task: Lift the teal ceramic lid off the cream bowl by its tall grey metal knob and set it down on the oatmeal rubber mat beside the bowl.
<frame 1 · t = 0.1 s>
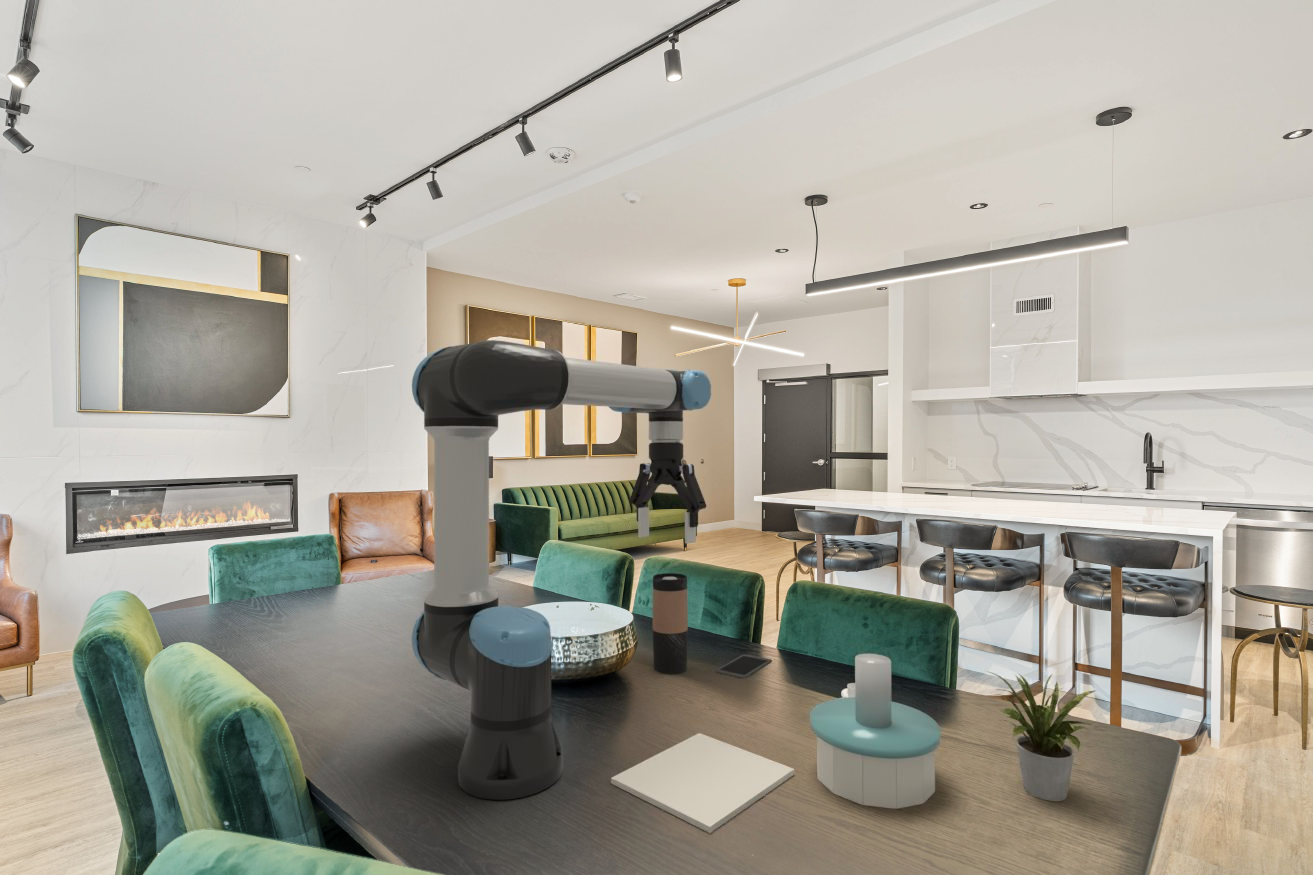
hand: (666, 539, 143), 28 cm above the table, tool pointing down, fingers open, 13 cm apart
house plant: (1033, 790, 93), on the table
lid: (873, 729, 96), point 7 cm above the table, touching bowl
bowl: (873, 777, 96), on the table
cell phone: (744, 669, 145), on the table
travel mug: (670, 669, 143), on the table
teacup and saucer: (868, 706, 124), on the table
mat: (703, 778, 96), on the table
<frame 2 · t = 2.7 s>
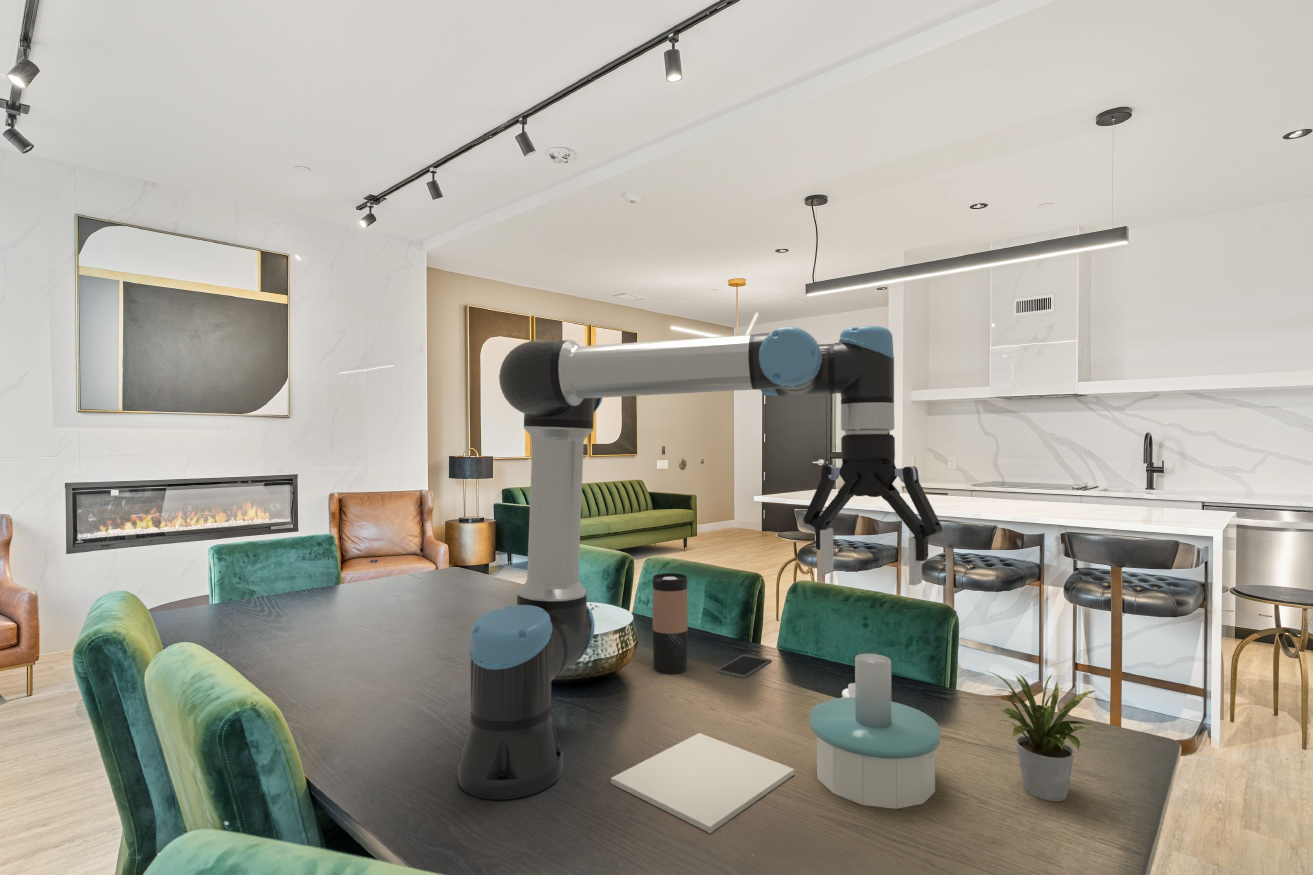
hand: (869, 577, 97), 29 cm above the table, tool pointing down, fingers open, 13 cm apart
nothing on the table moved.
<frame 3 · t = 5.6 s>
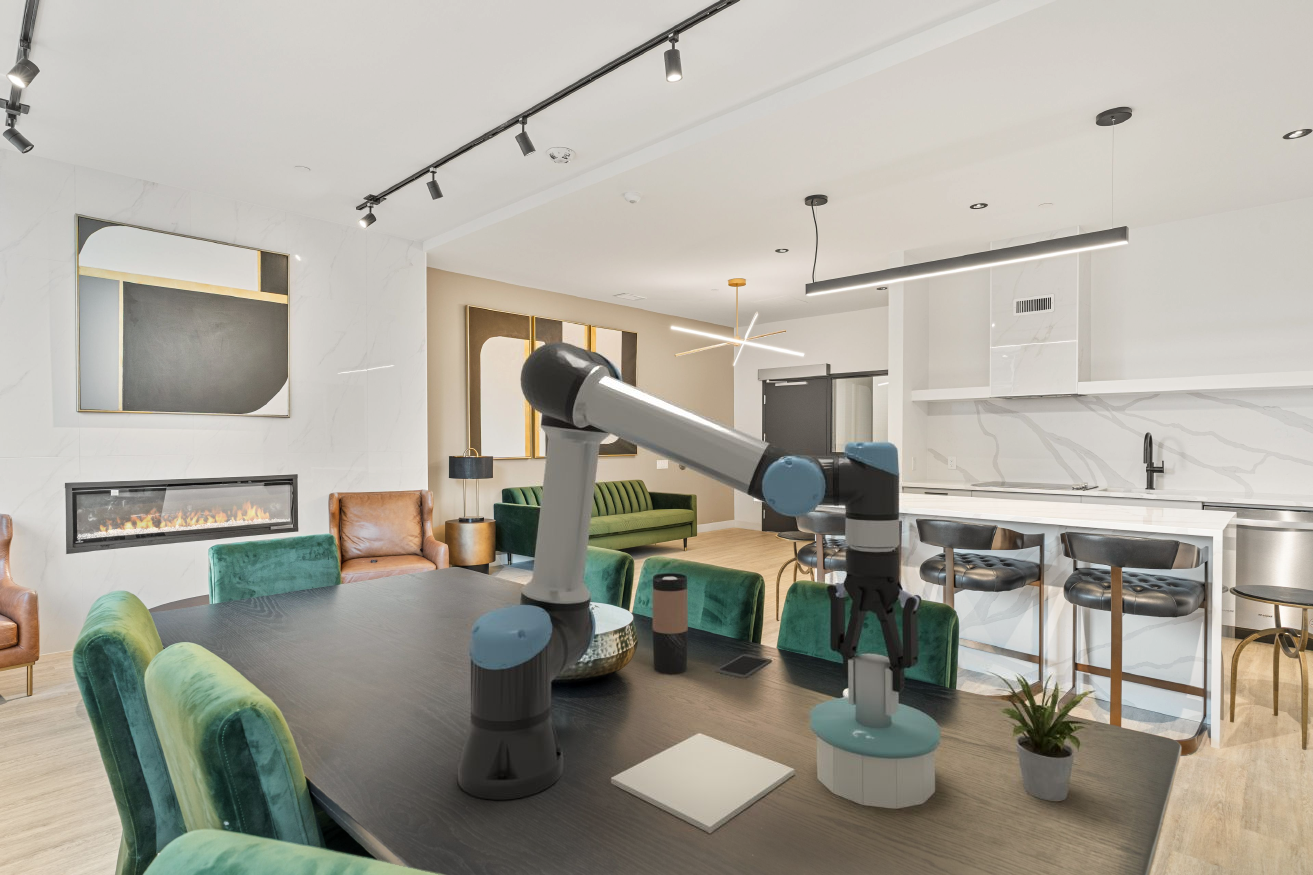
hand: (873, 706, 96), 10 cm above the table, tool pointing down, fingers closed on lid, 5 cm apart
lid: (873, 729, 96), point 7 cm above the table, touching bowl, gripper
everything else where it was.
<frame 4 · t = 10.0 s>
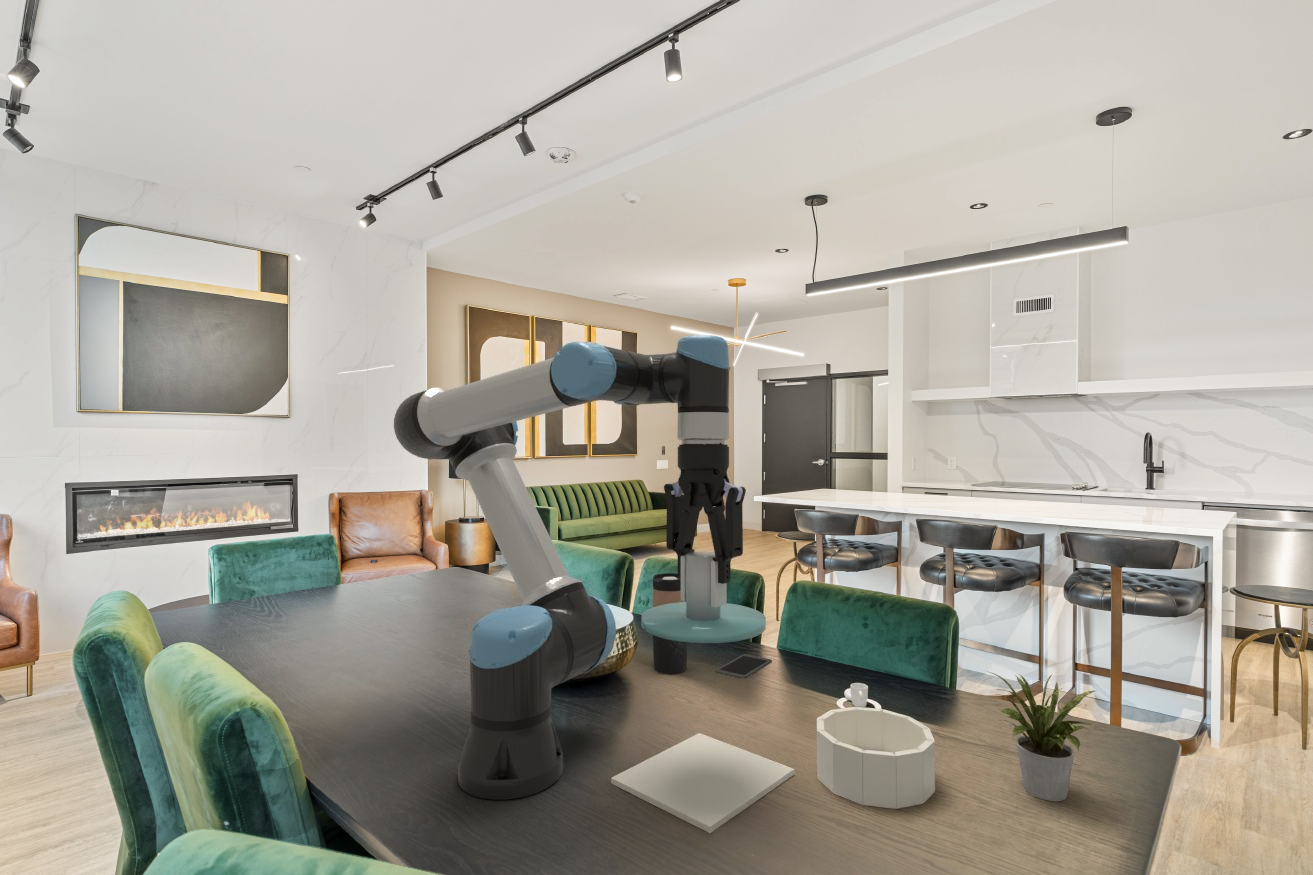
hand: (703, 601, 96), 26 cm above the table, tool pointing down, fingers closed on lid, 5 cm apart
lid: (703, 624, 96), point 22 cm above the table, touching gripper
everything else where it was.
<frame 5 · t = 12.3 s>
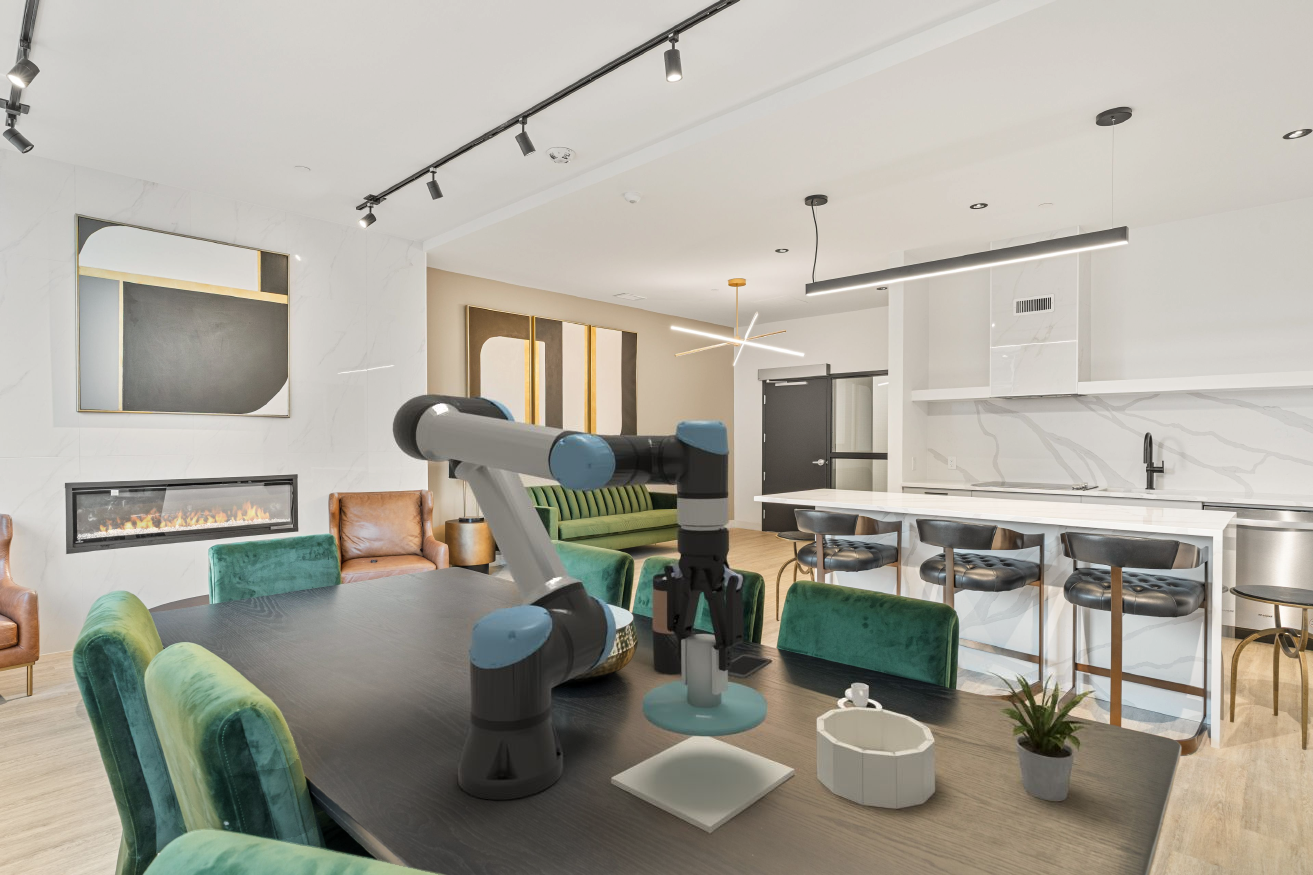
hand: (704, 686, 96), 13 cm above the table, tool pointing down, fingers closed on lid, 5 cm apart
lid: (704, 709, 96), point 10 cm above the table, touching gripper
everything else where it was.
when the fingers open (5 cm above the table, at t = 14.6 s): lid drops 1 cm, resting on mat.
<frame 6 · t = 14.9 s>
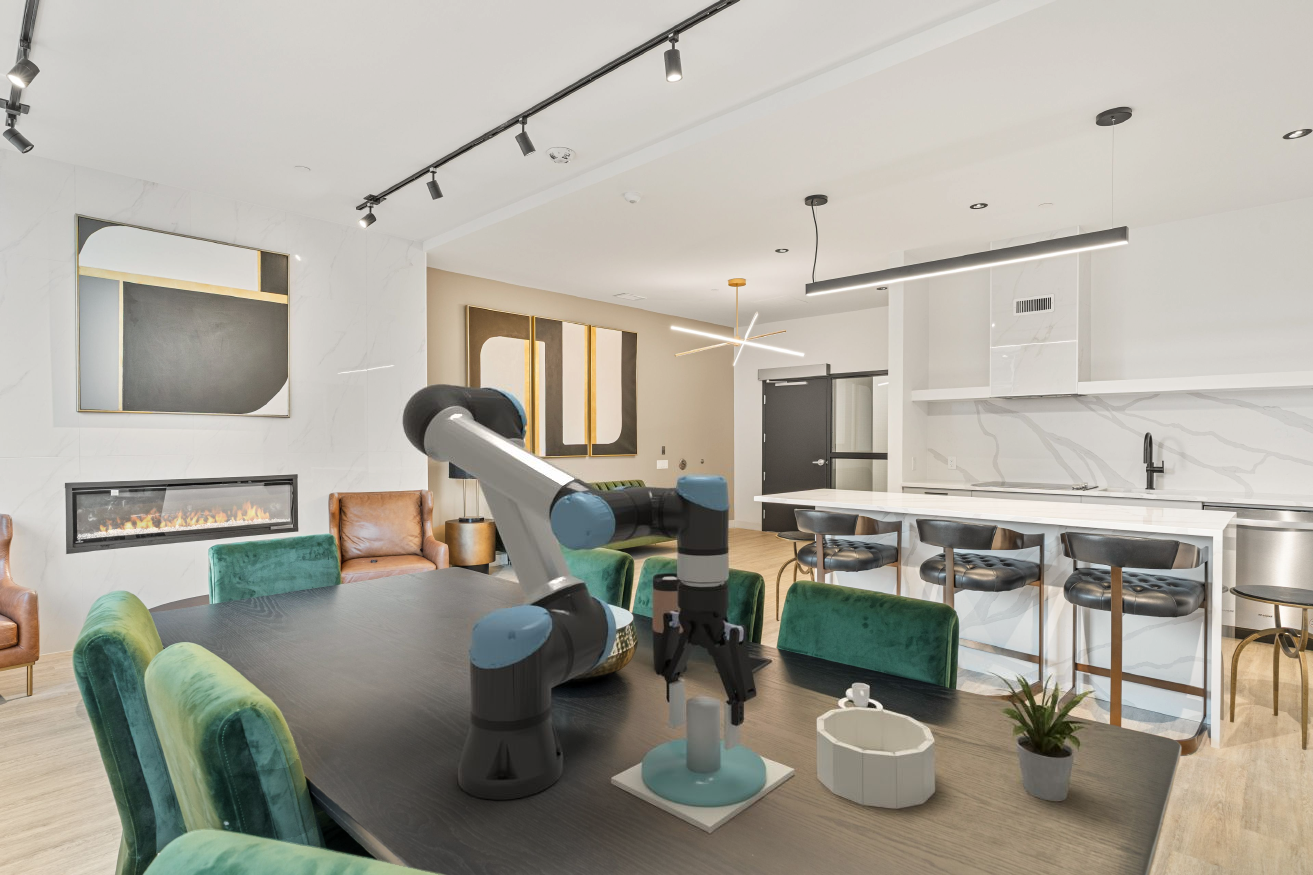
hand: (703, 735, 96), 6 cm above the table, tool pointing down, fingers open, 9 cm apart
lid: (703, 773, 96), point 1 cm above the table, touching mat
everything else where it was.
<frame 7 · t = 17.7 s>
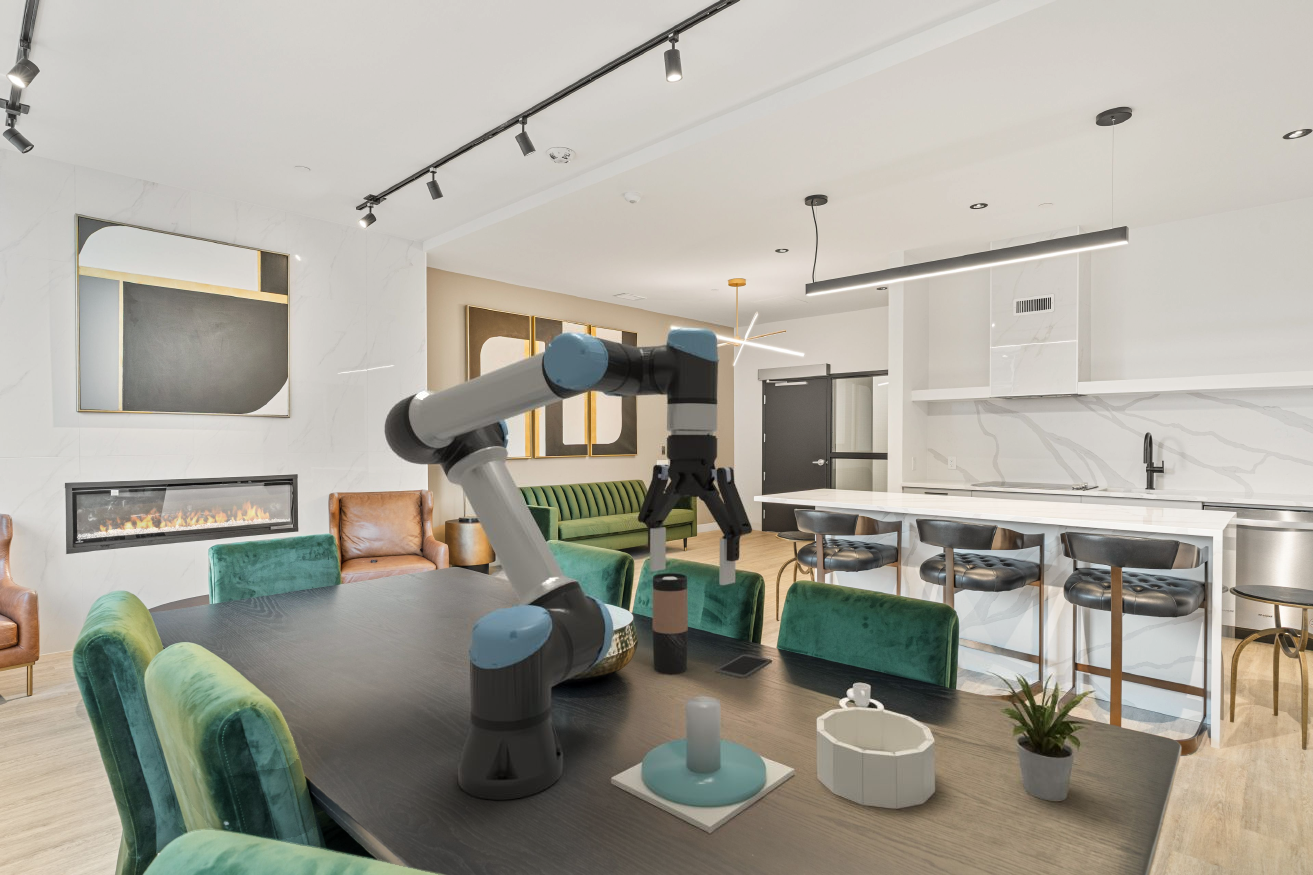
hand: (690, 576, 98), 29 cm above the table, tool pointing down, fingers open, 13 cm apart
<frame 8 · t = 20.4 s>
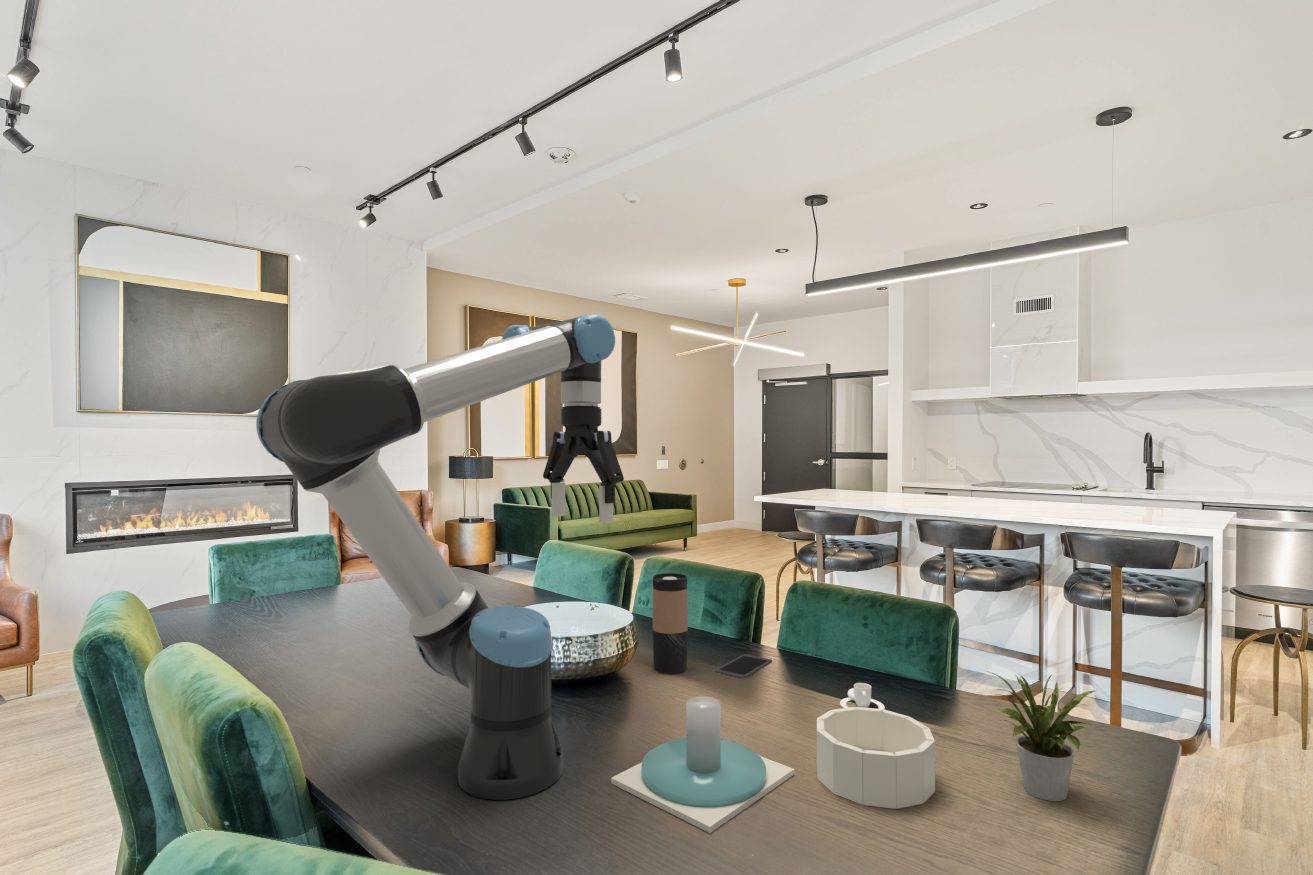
hand: (581, 518, 124), 35 cm above the table, tool pointing down, fingers open, 13 cm apart
at the end: lid inside the target area on the mat (0.0 cm from its centre), point 0.8 cm above the mat's base; lid tilted 0°; the gripper is holding nothing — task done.
